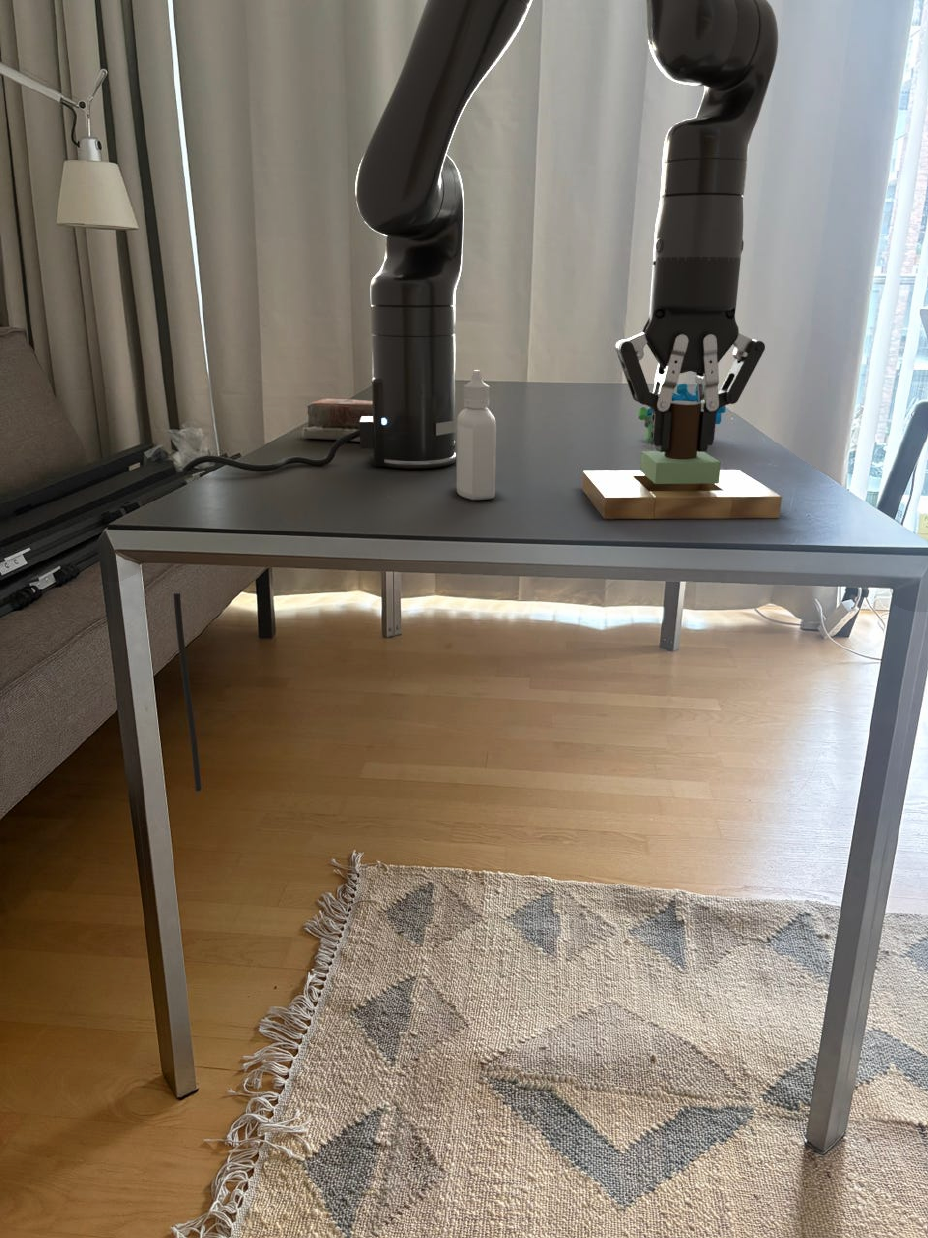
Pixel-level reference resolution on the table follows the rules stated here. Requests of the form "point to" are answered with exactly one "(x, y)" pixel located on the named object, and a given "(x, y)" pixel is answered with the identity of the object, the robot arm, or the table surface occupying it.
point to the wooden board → (679, 497)
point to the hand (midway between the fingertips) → (680, 449)
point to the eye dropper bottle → (476, 443)
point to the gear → (683, 396)
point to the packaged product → (335, 418)
